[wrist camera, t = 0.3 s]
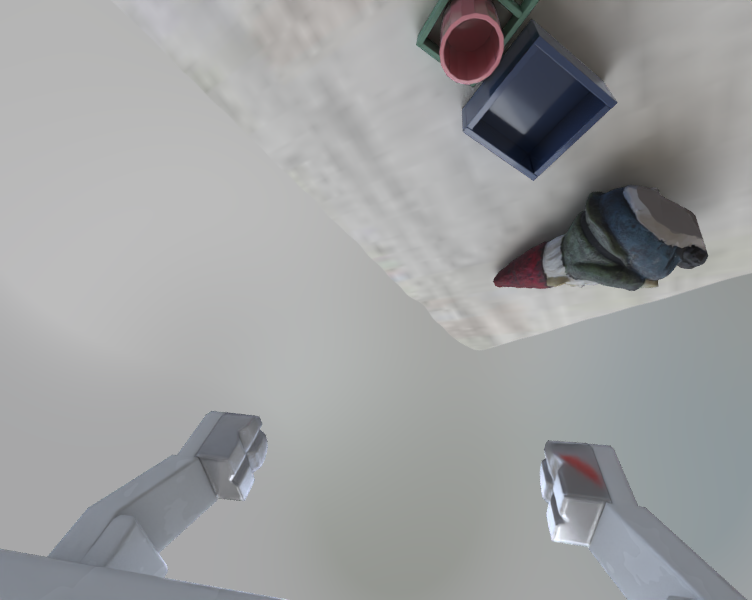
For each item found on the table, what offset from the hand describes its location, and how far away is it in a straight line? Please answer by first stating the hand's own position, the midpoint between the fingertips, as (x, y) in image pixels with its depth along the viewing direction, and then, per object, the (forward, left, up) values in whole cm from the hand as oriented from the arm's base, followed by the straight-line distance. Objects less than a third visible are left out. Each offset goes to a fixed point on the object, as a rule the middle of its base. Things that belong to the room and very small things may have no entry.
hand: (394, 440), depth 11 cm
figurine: (+13, +41, -51) cm, 67 cm away
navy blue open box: (+2, +16, -50) cm, 53 cm away
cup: (0, +4, -50) cm, 51 cm away
